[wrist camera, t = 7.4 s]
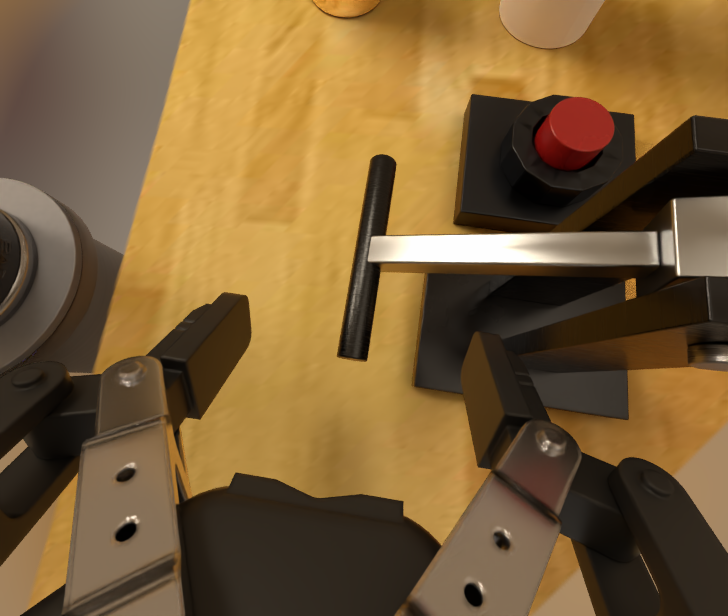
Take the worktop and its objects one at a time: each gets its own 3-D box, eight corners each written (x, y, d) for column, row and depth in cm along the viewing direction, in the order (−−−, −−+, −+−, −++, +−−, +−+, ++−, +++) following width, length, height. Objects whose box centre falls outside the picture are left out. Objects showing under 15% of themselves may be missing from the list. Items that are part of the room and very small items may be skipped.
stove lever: (350, 361, 13) (323, 353, 11) (379, 182, 15) (360, 143, 12) (772, 418, 8) (872, 423, 6) (740, 152, 10) (809, 85, 8)
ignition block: (452, 224, 22) (469, 195, 19) (464, 113, 24) (480, 68, 21) (618, 247, 22) (665, 222, 18) (615, 132, 24) (658, 90, 20)
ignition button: (532, 167, 19) (548, 146, 18) (534, 116, 20) (550, 92, 19) (593, 175, 19) (615, 155, 18) (593, 124, 20) (614, 100, 18)
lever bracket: (411, 386, 20) (514, 393, 6) (427, 248, 22) (532, 27, 8) (613, 418, 19) (1192, 500, 6) (610, 274, 21) (1038, 88, 8)
